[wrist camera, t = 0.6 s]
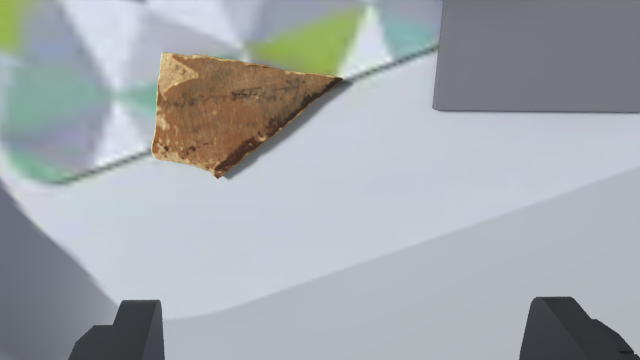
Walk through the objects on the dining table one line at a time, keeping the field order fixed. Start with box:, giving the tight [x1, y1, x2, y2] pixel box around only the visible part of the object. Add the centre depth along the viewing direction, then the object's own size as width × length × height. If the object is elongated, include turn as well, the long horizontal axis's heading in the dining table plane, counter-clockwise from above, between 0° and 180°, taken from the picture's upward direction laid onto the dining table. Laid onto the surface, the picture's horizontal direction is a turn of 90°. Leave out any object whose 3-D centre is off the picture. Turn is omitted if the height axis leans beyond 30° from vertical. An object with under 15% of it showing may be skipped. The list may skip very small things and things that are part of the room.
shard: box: [151, 52, 343, 179], centre depth 37 cm, size 11×8×2 cm
